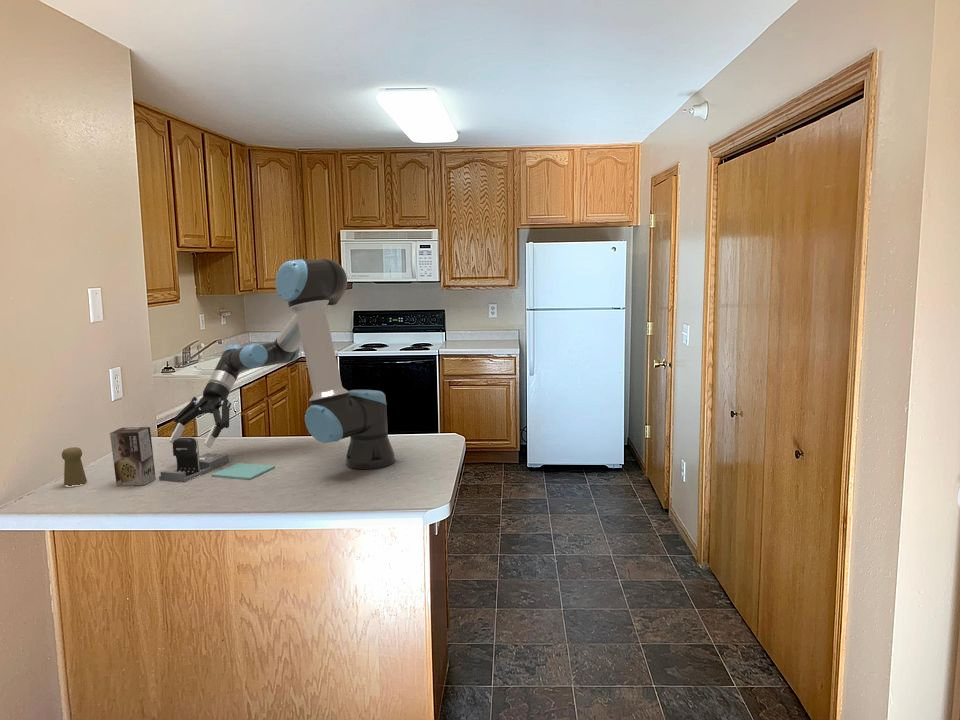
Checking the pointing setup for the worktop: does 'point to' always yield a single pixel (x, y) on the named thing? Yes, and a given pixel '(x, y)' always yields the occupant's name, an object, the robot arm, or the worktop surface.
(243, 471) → the mat
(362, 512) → the worktop surface
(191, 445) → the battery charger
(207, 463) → the gray frame with rod
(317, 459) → the worktop surface
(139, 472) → the coffee box
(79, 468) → the cork
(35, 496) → the worktop surface
